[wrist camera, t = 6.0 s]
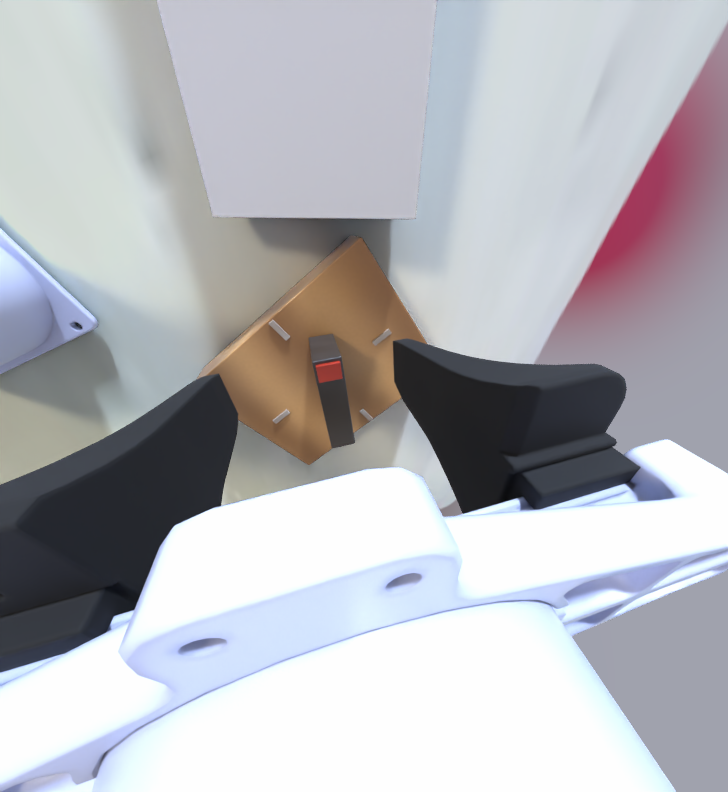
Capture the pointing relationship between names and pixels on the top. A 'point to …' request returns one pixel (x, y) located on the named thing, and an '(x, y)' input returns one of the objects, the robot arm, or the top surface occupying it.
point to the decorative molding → (305, 103)
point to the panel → (291, 359)
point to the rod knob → (332, 389)
